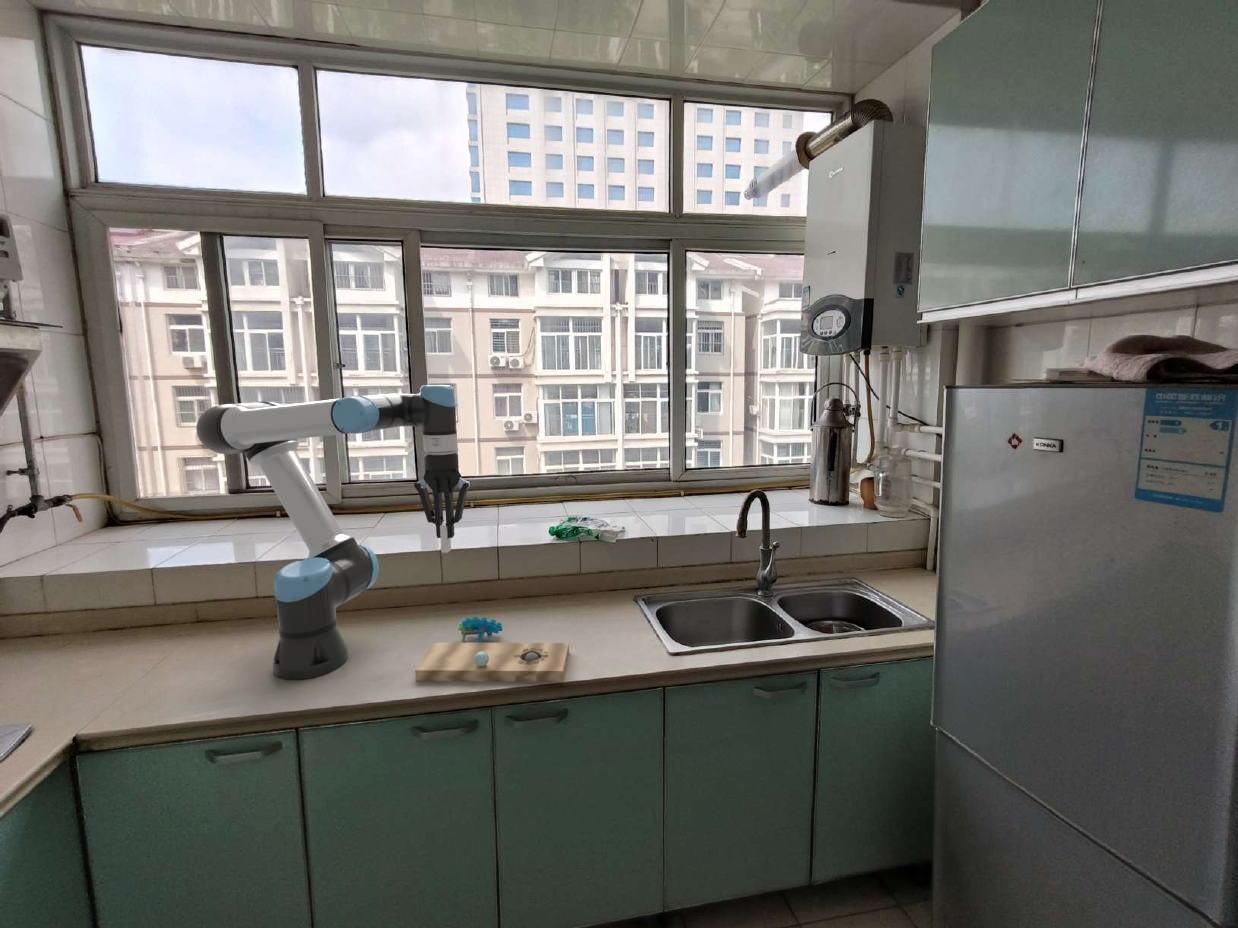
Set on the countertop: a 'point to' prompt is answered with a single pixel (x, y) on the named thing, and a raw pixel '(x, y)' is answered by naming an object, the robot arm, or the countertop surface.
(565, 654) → the board
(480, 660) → the teal ball
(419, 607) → the countertop surface
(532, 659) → the grey ball
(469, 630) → the gear
